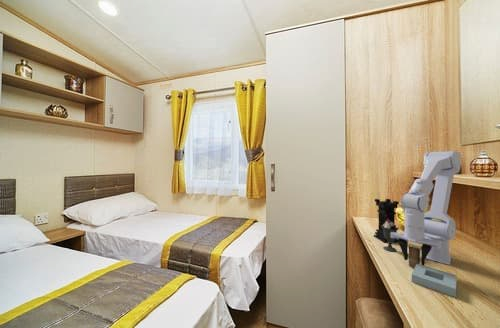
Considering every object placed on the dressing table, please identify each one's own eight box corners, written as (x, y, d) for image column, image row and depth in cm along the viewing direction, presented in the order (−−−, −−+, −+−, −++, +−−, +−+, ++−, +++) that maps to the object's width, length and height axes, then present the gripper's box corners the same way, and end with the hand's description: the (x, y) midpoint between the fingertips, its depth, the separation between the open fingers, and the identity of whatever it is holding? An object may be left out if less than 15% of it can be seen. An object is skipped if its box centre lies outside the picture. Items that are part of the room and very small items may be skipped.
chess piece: (400, 242, 94) (400, 201, 94) (383, 242, 94) (383, 202, 94) (388, 236, 102) (388, 198, 102) (373, 236, 102) (373, 198, 102)
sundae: (381, 244, 92) (381, 213, 92) (399, 248, 88) (399, 215, 88) (380, 249, 87) (379, 216, 87) (398, 254, 83) (398, 219, 83)
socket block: (416, 270, 71) (416, 263, 71) (456, 282, 63) (456, 275, 63) (411, 281, 64) (411, 274, 64) (455, 297, 56) (455, 289, 56)
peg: (409, 263, 75) (409, 245, 75) (420, 266, 73) (420, 248, 73) (408, 266, 73) (408, 248, 73) (419, 270, 71) (419, 251, 71)
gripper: (388, 223, 75) (388, 258, 76) (440, 233, 65) (440, 273, 65) (392, 220, 80) (393, 252, 80) (441, 228, 69) (441, 266, 70)
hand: (414, 261), depth 73 cm, fingers open, 4 cm apart
